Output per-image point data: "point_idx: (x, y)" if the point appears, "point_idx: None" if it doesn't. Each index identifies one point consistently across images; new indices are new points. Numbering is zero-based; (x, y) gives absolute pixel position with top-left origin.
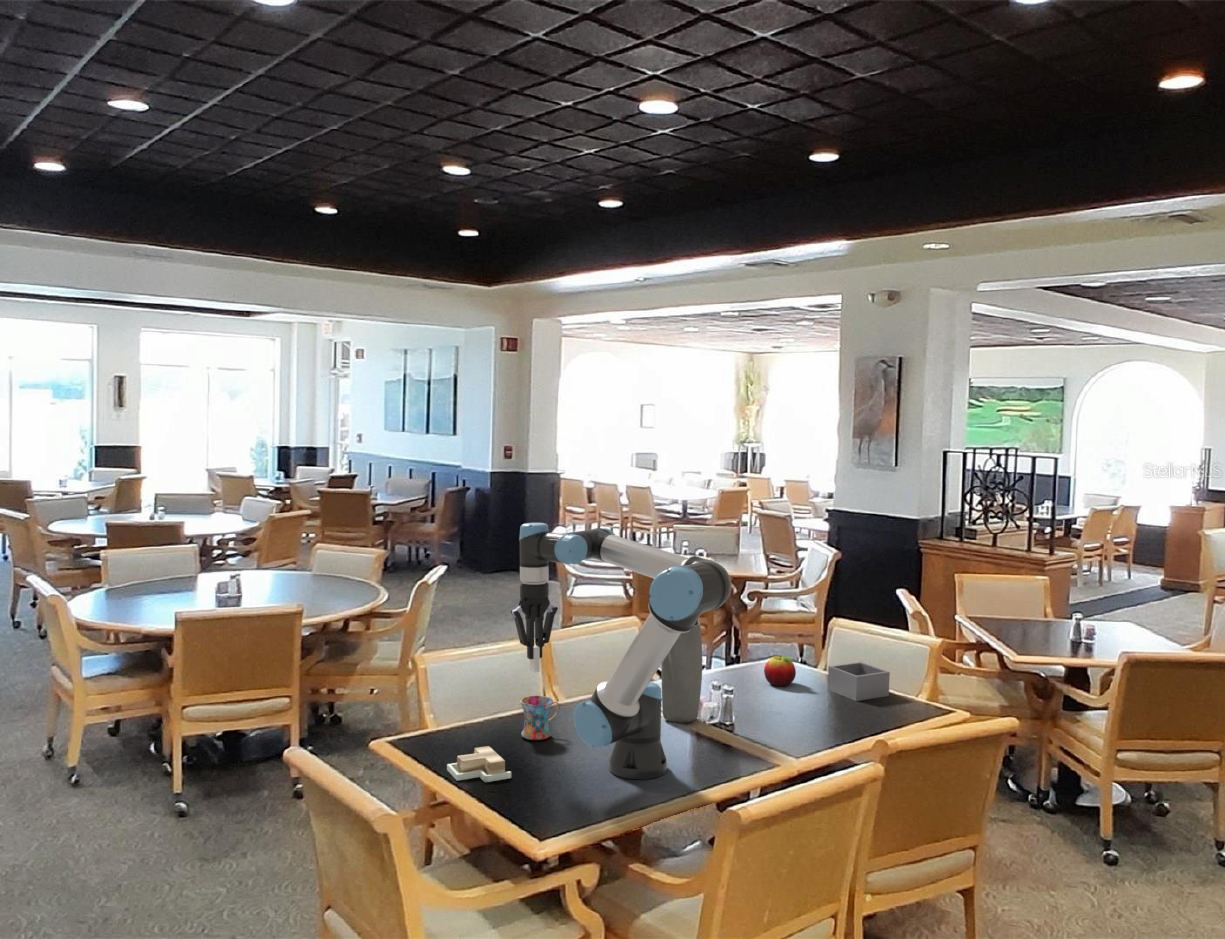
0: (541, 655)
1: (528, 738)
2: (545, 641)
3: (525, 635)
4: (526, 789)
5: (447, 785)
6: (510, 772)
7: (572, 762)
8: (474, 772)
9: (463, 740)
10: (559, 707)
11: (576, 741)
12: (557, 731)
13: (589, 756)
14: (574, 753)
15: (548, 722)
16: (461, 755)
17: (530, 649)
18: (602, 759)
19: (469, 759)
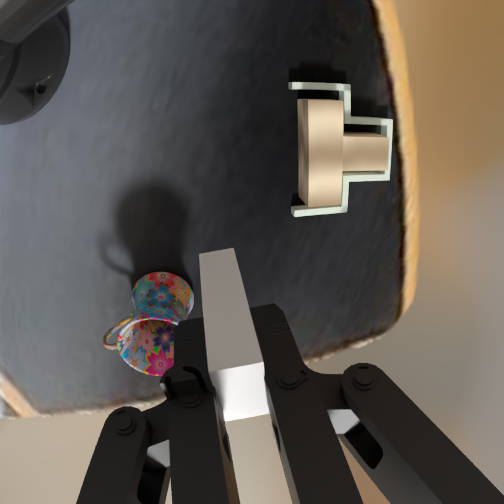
0: (181, 333)
1: (184, 280)
2: (142, 420)
3: (402, 446)
4: (278, 15)
5: (404, 106)
6: (294, 82)
7: (124, 128)
8: (360, 117)
9: (302, 310)
10: (103, 337)
11: (87, 250)
12: (116, 311)
13: (79, 156)
14: (105, 182)
15: (133, 314)
16: (379, 170)
17: (290, 357)
18: (59, 131)
19: (374, 139)
